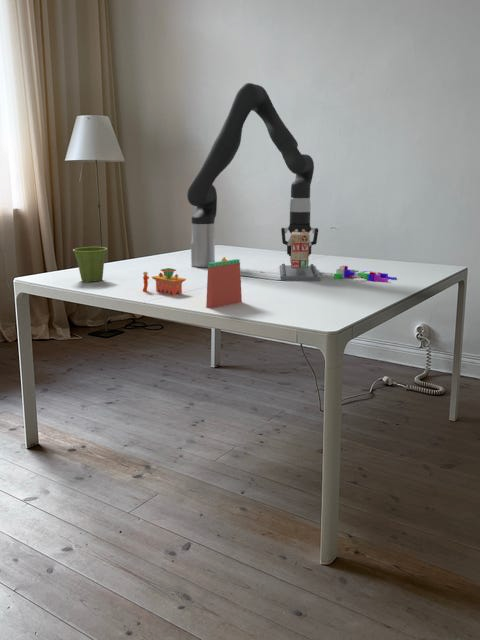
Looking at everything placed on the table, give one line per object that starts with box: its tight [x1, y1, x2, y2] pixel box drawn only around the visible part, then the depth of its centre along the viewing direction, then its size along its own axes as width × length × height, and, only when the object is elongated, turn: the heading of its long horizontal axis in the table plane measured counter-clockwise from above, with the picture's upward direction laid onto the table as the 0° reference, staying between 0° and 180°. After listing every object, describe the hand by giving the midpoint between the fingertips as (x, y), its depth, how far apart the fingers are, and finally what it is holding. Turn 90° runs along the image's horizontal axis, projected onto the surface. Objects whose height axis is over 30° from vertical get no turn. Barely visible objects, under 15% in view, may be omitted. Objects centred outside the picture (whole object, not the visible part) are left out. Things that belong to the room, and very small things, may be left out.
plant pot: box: [72, 246, 108, 283], centre depth 222 cm, size 12×12×11 cm
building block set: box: [321, 265, 397, 283], centre depth 232 cm, size 25×20×4 cm
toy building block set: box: [142, 257, 243, 309], centre depth 194 cm, size 12×35×14 cm, turn 45°
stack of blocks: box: [289, 232, 311, 268], centre depth 235 cm, size 21×6×12 cm, turn 177°
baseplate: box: [279, 263, 321, 282], centre depth 236 cm, size 14×26×2 cm, turn 177°
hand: (299, 255), depth 235 cm, fingers closed on stack of blocks, 6 cm apart
